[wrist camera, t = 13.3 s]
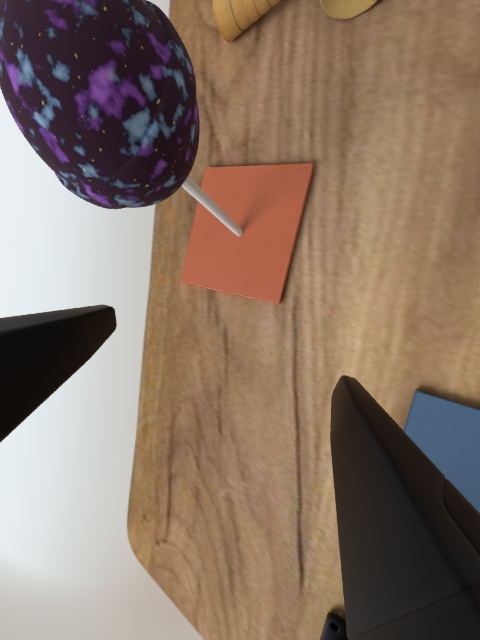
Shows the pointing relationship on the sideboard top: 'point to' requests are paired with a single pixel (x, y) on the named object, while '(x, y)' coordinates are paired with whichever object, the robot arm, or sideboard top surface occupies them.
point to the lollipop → (104, 98)
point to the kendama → (251, 3)
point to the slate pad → (448, 440)
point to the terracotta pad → (248, 229)
